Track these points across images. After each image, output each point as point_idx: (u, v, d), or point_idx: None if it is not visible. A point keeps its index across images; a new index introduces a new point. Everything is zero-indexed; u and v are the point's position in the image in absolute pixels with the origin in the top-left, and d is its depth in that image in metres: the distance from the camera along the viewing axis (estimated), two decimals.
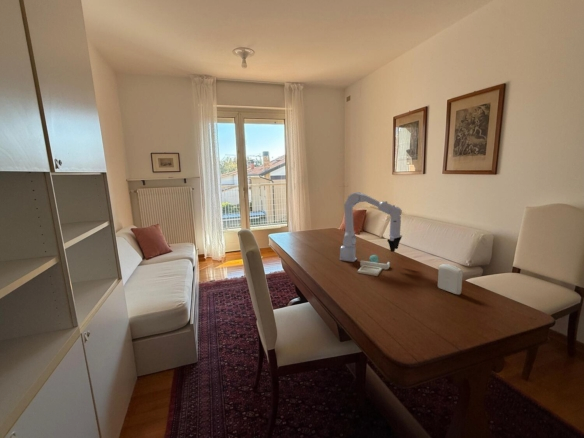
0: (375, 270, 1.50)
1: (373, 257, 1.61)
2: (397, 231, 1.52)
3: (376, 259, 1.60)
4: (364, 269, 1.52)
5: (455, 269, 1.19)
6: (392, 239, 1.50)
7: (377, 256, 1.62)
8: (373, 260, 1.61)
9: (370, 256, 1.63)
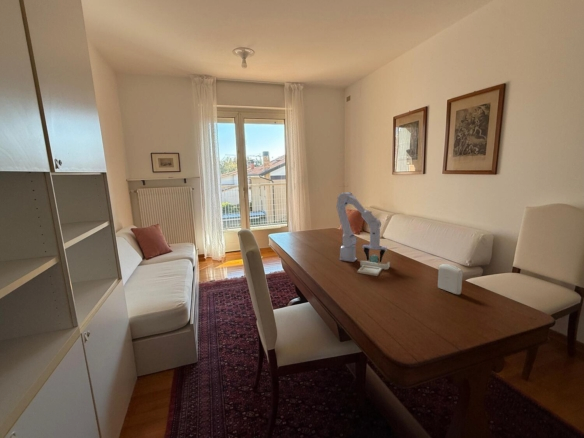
0: (375, 270, 1.50)
1: (373, 257, 1.61)
2: (370, 242, 1.61)
3: (376, 259, 1.60)
4: (364, 269, 1.52)
5: (455, 269, 1.19)
6: None
7: (377, 256, 1.62)
8: (373, 260, 1.61)
9: (370, 256, 1.63)
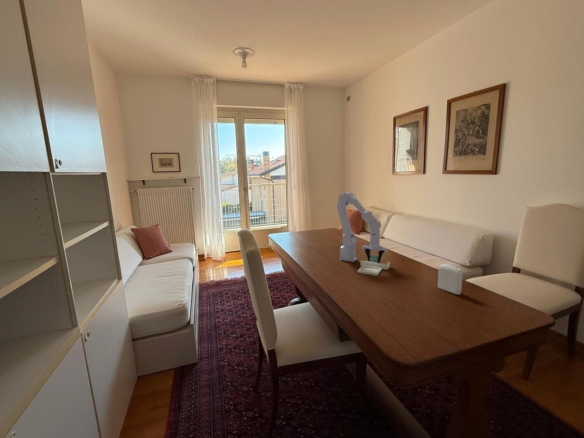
0: (375, 270, 1.50)
1: (373, 257, 1.61)
2: (370, 243, 1.61)
3: (376, 259, 1.60)
4: (364, 269, 1.52)
5: (455, 269, 1.19)
6: None
7: (377, 256, 1.62)
8: (373, 260, 1.61)
9: (370, 256, 1.63)
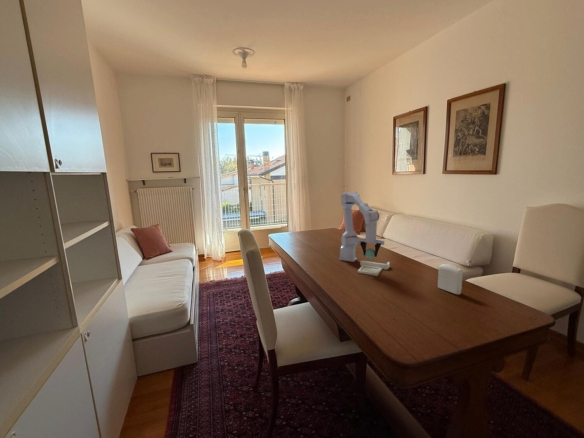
0: (375, 270, 1.50)
1: (369, 251, 1.47)
2: (366, 235, 1.47)
3: (372, 253, 1.46)
4: (364, 269, 1.52)
5: (455, 269, 1.19)
6: None
7: (374, 250, 1.48)
8: (369, 254, 1.47)
9: (366, 250, 1.49)
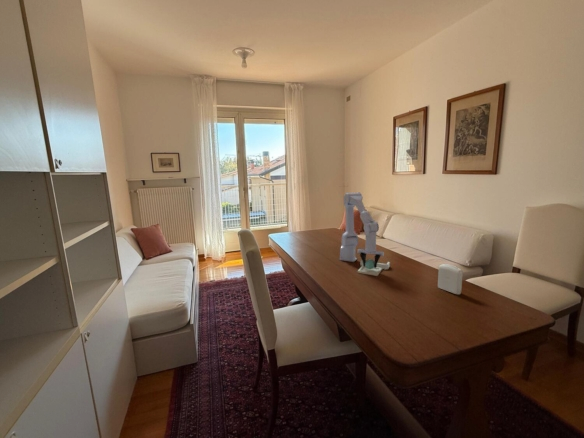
0: (375, 270, 1.50)
1: (369, 262, 1.48)
2: (365, 246, 1.48)
3: (372, 264, 1.47)
4: (364, 269, 1.52)
5: (455, 269, 1.19)
6: None
7: None
8: (369, 265, 1.48)
9: (366, 261, 1.50)
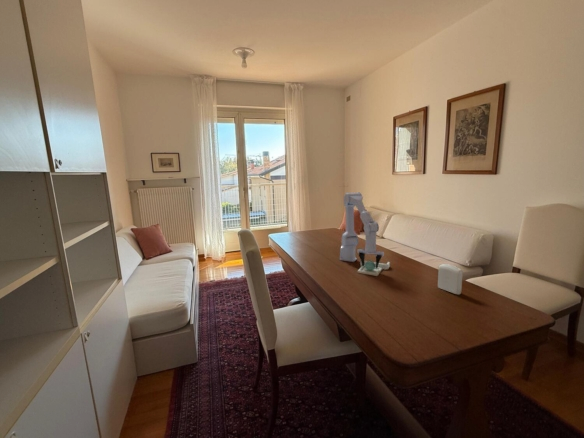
0: (375, 270, 1.50)
1: (369, 263, 1.48)
2: (365, 246, 1.48)
3: (372, 265, 1.48)
4: (364, 269, 1.52)
5: (455, 269, 1.19)
6: None
7: (373, 262, 1.49)
8: (369, 267, 1.48)
9: (366, 262, 1.51)
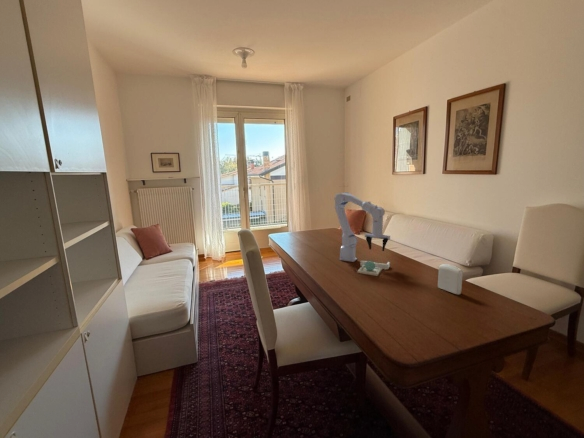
0: (375, 270, 1.50)
1: (369, 263, 1.48)
2: (373, 230, 1.56)
3: (372, 265, 1.48)
4: (364, 269, 1.52)
5: (455, 269, 1.19)
6: None
7: (373, 262, 1.49)
8: (369, 267, 1.48)
9: None
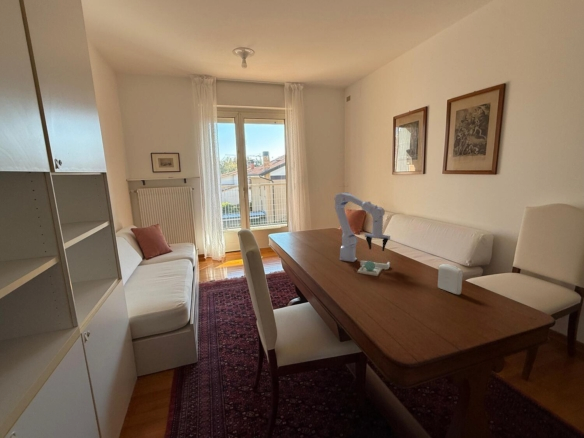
0: (375, 270, 1.50)
1: (368, 263, 1.48)
2: (373, 230, 1.56)
3: (372, 265, 1.48)
4: (364, 269, 1.52)
5: (455, 269, 1.19)
6: None
7: (373, 262, 1.49)
8: (369, 267, 1.48)
9: None
